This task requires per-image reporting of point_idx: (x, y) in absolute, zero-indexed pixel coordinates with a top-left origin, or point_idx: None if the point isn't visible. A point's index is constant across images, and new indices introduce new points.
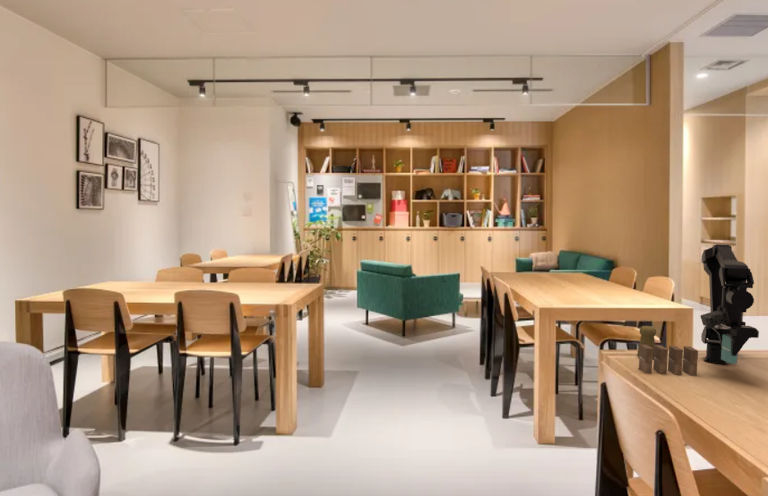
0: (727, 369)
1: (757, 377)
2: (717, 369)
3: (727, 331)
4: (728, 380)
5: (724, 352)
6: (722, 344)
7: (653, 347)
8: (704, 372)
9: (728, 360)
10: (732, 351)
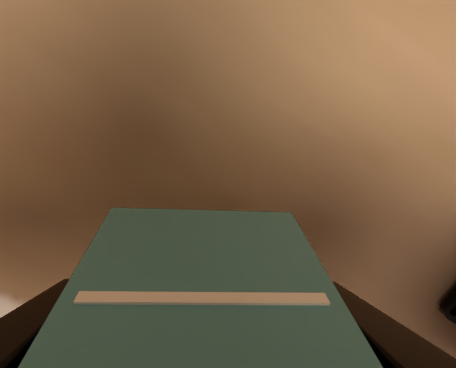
0: (340, 263)
1: None
2: (341, 192)
3: None
4: (47, 112)
5: (240, 258)
6: (340, 330)
7: None
8: (256, 27)
9: (138, 220)
10: (21, 308)
